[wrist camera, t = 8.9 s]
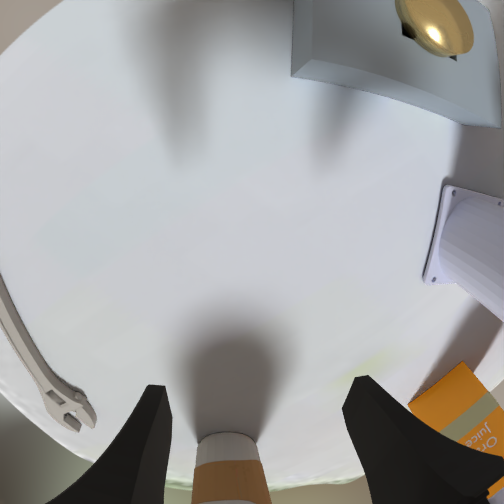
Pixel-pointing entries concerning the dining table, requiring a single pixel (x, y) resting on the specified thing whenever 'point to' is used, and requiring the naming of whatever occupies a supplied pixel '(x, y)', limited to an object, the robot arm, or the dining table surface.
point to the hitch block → (397, 58)
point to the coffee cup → (229, 471)
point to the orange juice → (464, 413)
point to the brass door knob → (436, 25)
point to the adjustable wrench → (43, 371)
